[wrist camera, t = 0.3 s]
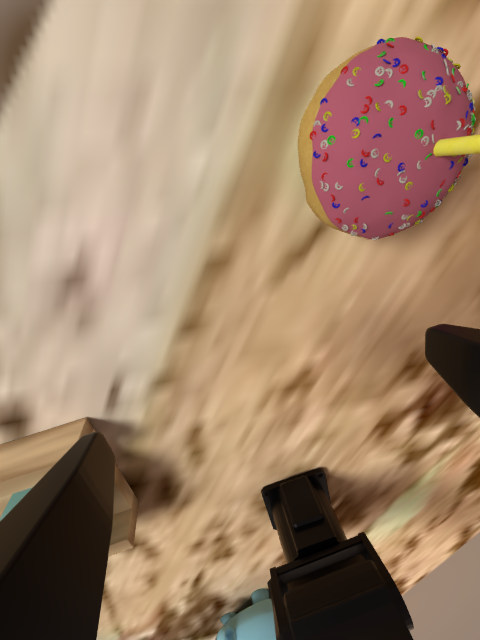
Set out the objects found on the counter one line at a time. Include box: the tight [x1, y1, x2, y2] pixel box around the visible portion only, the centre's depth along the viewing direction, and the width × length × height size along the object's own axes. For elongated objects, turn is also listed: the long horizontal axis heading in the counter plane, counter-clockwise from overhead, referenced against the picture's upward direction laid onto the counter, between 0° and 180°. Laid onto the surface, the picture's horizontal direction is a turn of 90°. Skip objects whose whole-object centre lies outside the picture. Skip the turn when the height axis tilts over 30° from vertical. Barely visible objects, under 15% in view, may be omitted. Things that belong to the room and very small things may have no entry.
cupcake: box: [298, 37, 480, 240], centre depth 14 cm, size 9×8×12 cm
